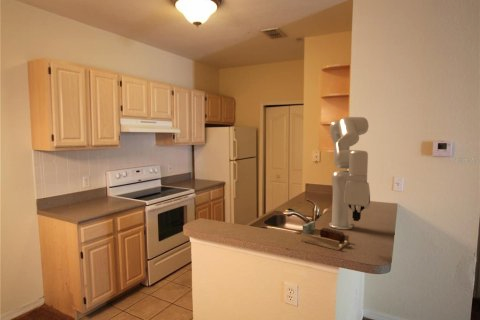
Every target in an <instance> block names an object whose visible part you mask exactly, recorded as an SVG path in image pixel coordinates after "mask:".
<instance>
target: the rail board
mask: <svg viewBox="0 0 480 320" xmlns="http://www.w3.org/2000/svg"><path fill="white" fill-rule="evenodd" d="M321 229H322V228H317V227H316V221H313V220H312V221H309V222H308V223H305V224H303V225H302V232H301V233H300V242H303V243H308V244H312V245H316V246H320V247H324V248H327V249H331V250H335V251H336V250H337V251H339V250H340V249H342V248H343V247H345V246H346V245H347V244H349V242H350V234H345V233H344V235H345V241H344V242H342V243H340V241H336V240H332V239H327V238H323V237H320V230H321Z"/></svg>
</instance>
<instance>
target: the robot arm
mask: <svg viewBox="0 0 480 320" xmlns="http://www.w3.org/2000/svg"><path fill="white" fill-rule="evenodd" d="M368 131H369V122H368V119H367V118H365V116H364V117H363V116H347V117H343V118H341V119H339V120H333V121H331V123H330V124H329V135H330V138H331V140H332V143H333V165H334V166H335V168H337V169H345V170H335V171H333V172H332V173H331V184H332V185H331V186H332V202H331V203H332V206H331V207H332V209H331V215H332V216H331V221H330V222H328V226H329V227H331V228H333V229H336V230H351V229H353V224H351V222H350V220H351V216H352V220H353V221H354V222H359V221H360V220H361V216H362V215H361V214H362V211H363V210H369V209H370V208H371V205H370V204H371V191H370V183H369V182H368V166H369V165H368V163H369V161H368V160H369V153H368V151H366V150H357V149H350V147H353V146H354V145H356V144H358V142H359V140H360V136H362V135H364V134H365V135H366V133H367V132H368ZM347 169H348V170H347ZM351 212H352V215H351Z"/></svg>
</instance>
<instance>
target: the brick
mask: <svg viewBox="0 0 480 320" xmlns="http://www.w3.org/2000/svg"><path fill="white" fill-rule="evenodd" d="M320 229H321V230H320V237H323V238H327V239H332V240H336V241H340V243H342V242H344V241H345V235H344V234H345V233H344V232H343V231H341V230H340V231H339V230H337V229H336V230H335V229H331V228H327V227H322V228H320Z"/></svg>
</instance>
